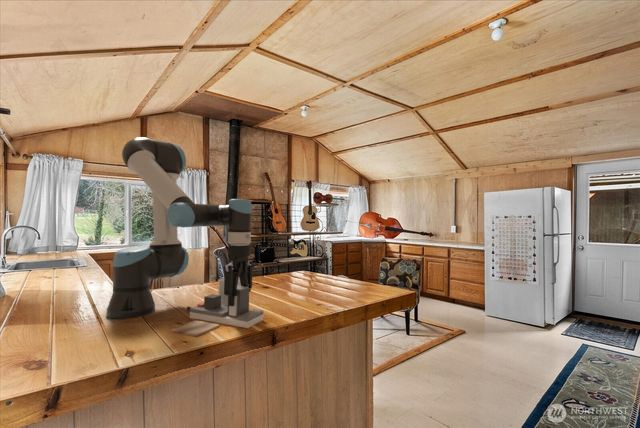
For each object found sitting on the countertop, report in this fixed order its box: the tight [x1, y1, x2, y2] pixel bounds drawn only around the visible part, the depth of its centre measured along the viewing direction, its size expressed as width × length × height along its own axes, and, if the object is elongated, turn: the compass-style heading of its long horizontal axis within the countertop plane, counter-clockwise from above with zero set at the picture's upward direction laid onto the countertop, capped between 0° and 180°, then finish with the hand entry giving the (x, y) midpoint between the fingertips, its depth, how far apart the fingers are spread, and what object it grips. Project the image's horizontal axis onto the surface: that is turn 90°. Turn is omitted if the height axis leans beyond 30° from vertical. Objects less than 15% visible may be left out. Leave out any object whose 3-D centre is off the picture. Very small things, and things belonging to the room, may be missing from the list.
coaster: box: [171, 319, 221, 338], centre depth 102 cm, size 10×10×1 cm
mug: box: [217, 277, 241, 305], centre depth 127 cm, size 12×9×11 cm
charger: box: [228, 285, 250, 318], centre depth 110 cm, size 5×5×9 cm
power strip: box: [189, 293, 264, 329], centre depth 112 cm, size 24×9×7 cm, turn 67°
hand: (238, 312), depth 110 cm, fingers closed on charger, 5 cm apart
